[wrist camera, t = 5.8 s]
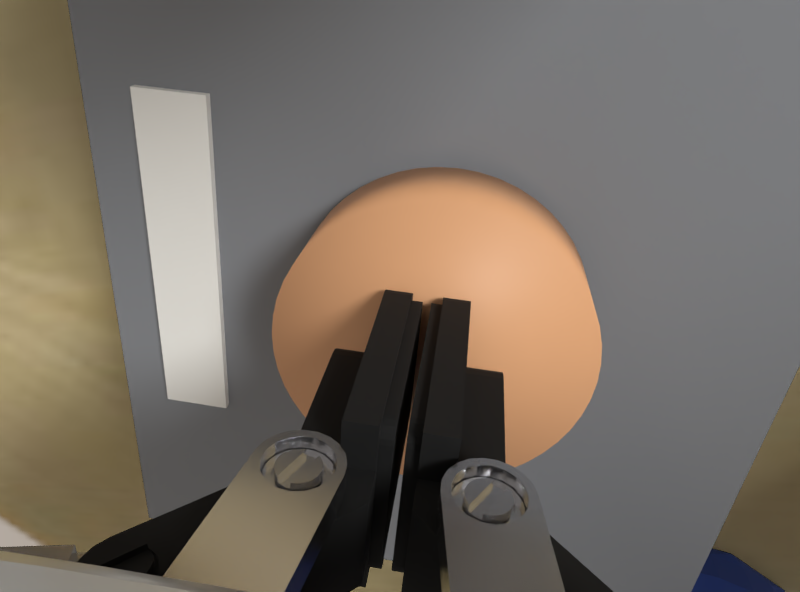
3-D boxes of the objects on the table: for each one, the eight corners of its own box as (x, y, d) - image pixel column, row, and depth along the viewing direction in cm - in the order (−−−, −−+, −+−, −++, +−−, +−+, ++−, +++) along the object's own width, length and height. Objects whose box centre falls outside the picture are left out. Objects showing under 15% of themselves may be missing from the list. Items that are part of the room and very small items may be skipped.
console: (186, -168, 16) (23, -234, 10) (849, -114, 14) (1058, -156, 9) (223, 398, 24) (145, 522, 19) (640, 464, 23) (683, 617, 18)
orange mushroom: (358, 92, 18) (269, 179, 11) (584, 118, 17) (642, 226, 10) (348, 289, 21) (274, 454, 14) (540, 316, 20) (562, 501, 13)
